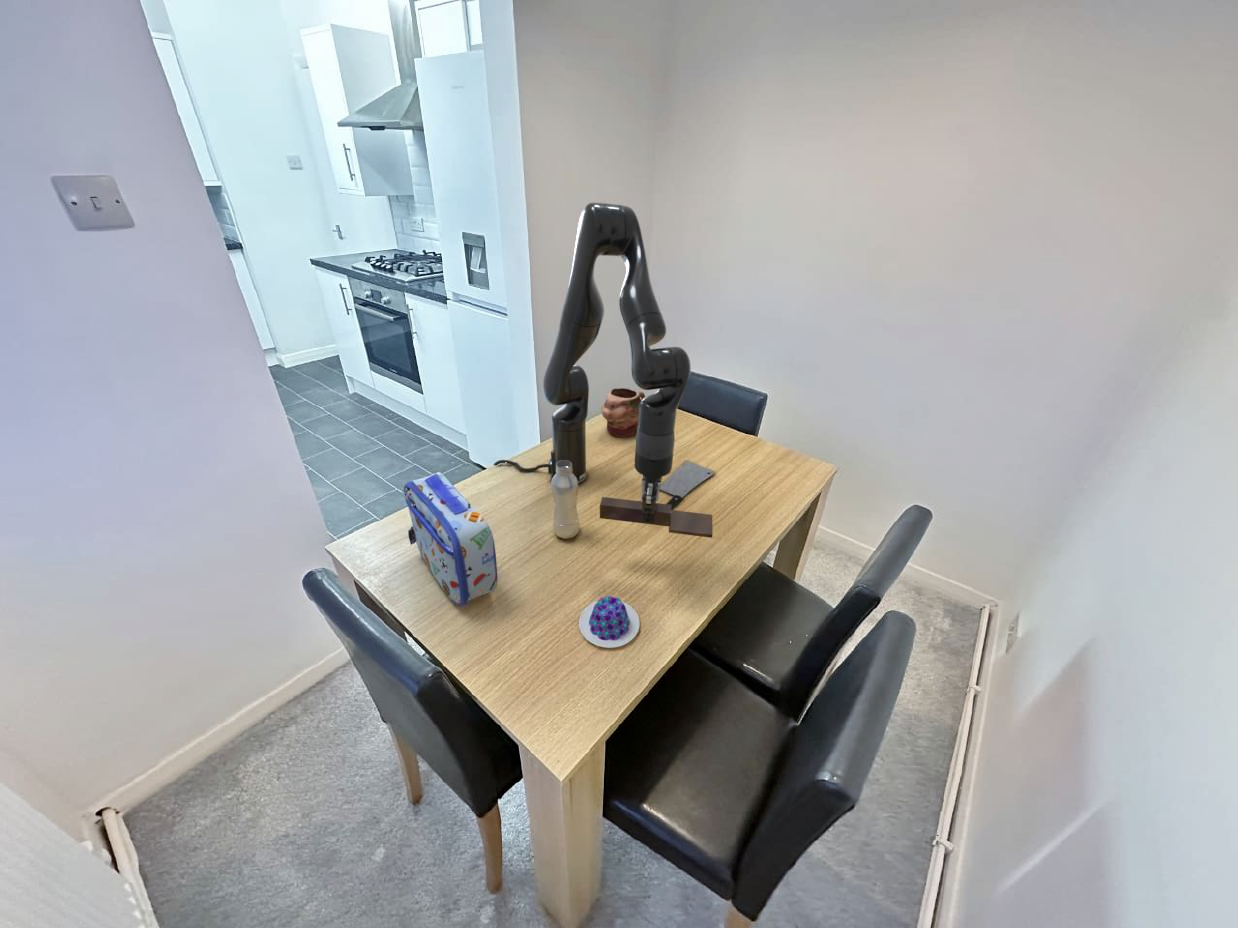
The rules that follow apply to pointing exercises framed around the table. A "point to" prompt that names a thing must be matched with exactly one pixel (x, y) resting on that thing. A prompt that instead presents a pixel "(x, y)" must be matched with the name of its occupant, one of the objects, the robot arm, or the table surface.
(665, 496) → the table surface
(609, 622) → the pudding
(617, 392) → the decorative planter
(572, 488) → the plastic bottle
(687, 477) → the cleaver
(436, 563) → the lunch box
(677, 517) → the spatula
